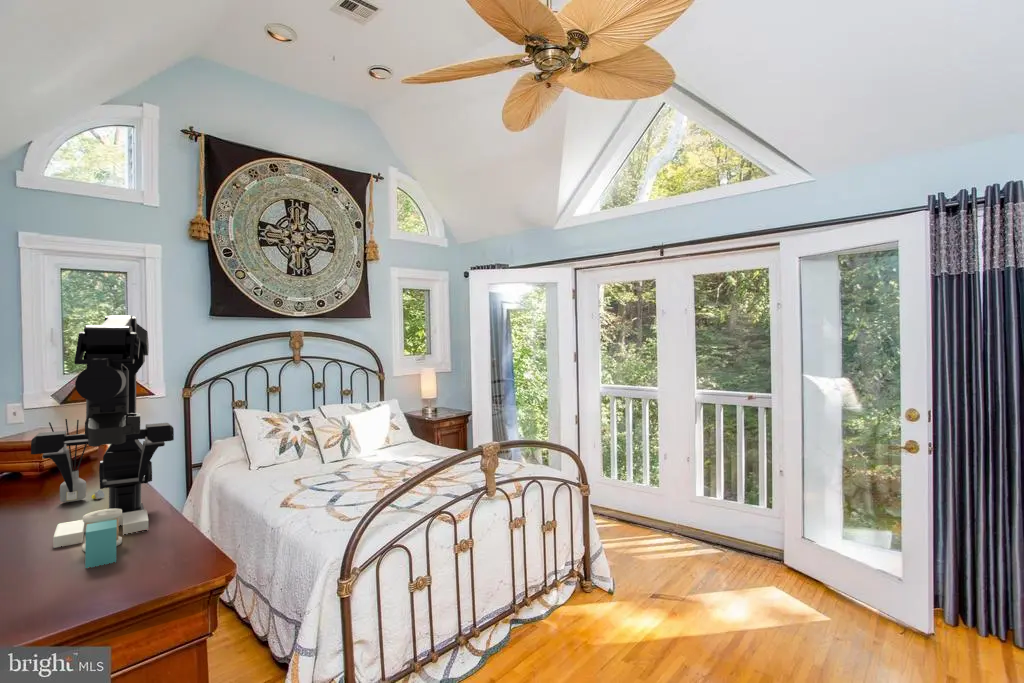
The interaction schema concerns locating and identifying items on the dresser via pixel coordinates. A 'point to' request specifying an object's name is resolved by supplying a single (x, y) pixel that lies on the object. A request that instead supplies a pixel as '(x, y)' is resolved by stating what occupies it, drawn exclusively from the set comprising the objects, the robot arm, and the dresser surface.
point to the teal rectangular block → (100, 543)
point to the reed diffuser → (76, 480)
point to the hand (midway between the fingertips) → (106, 487)
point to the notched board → (75, 529)
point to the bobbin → (101, 517)
